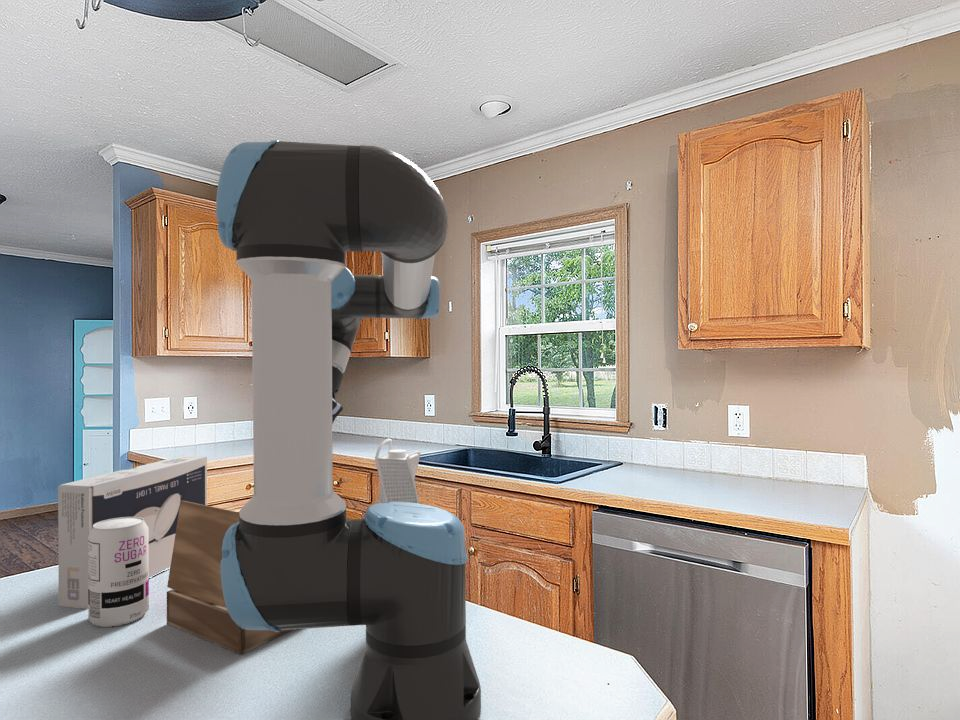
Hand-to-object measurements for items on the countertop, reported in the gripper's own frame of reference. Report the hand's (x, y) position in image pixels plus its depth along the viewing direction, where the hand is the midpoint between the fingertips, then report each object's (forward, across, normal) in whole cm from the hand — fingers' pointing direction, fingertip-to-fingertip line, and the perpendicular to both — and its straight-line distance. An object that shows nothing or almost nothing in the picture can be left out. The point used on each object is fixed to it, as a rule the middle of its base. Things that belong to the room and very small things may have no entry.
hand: (281, 494), depth 101 cm
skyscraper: (+15, -20, -12) cm, 28 cm away
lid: (+18, +1, +7) cm, 20 cm away
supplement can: (+23, +19, +6) cm, 31 cm away
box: (+20, +1, -2) cm, 20 cm away
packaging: (+16, +34, -5) cm, 38 cm away
